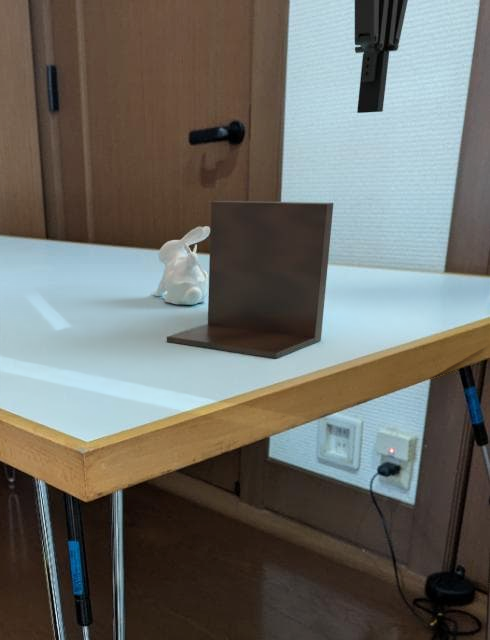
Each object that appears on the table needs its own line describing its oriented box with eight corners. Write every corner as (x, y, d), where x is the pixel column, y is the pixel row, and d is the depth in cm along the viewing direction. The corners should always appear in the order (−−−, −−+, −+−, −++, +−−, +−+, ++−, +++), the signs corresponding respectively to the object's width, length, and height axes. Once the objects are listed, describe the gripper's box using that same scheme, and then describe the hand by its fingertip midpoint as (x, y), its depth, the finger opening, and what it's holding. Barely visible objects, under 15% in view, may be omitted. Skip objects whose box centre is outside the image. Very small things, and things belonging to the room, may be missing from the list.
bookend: (321, 340, 88) (333, 202, 81) (276, 358, 81) (286, 210, 75) (214, 326, 96) (218, 200, 90) (166, 341, 90) (167, 207, 84)
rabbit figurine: (149, 294, 117) (149, 224, 113) (198, 290, 118) (200, 220, 114) (175, 309, 106) (176, 232, 102) (228, 304, 108) (231, 228, 103)
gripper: (387, -106, 97) (364, 113, 108) (337, -126, 89) (317, 114, 100) (449, -120, 93) (419, 110, 103) (403, -142, 84) (375, 111, 95)
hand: (369, 112), depth 102 cm, fingers closed
